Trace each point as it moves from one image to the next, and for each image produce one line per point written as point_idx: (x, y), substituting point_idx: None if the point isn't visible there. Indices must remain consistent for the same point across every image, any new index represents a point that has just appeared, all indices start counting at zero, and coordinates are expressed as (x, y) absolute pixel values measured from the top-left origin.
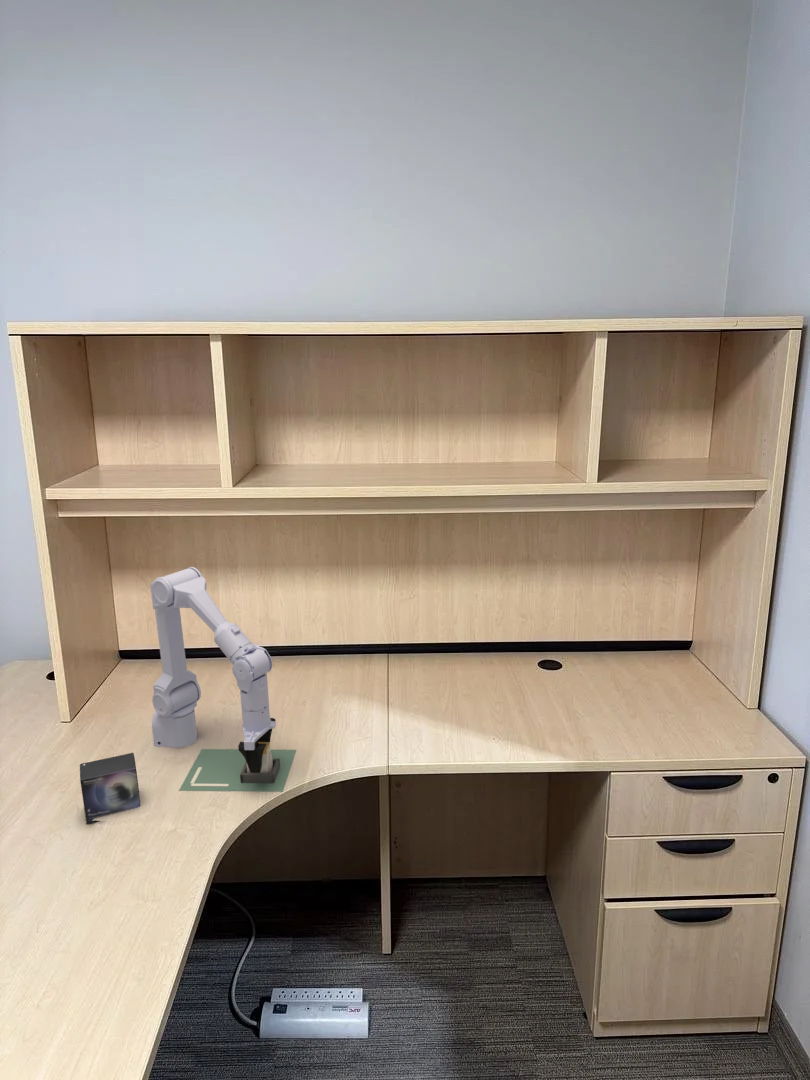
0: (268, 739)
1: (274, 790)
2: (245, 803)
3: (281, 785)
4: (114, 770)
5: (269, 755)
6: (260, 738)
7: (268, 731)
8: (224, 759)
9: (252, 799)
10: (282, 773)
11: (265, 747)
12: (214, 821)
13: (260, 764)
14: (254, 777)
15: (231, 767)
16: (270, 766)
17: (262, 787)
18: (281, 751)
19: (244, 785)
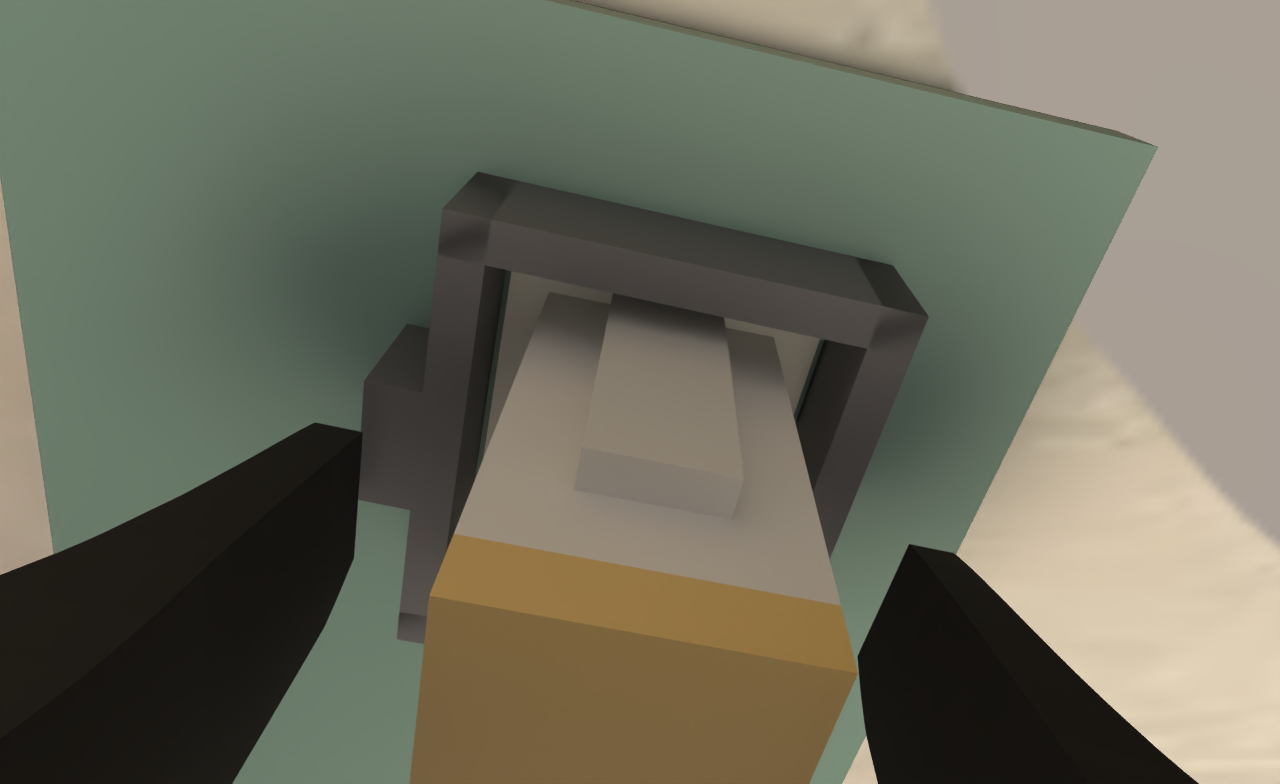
0: (220, 579)
1: (1073, 264)
2: (1052, 544)
3: (986, 161)
4: None
5: (714, 492)
6: (212, 738)
7: (67, 761)
8: (278, 749)
9: (1009, 482)
10: (670, 137)
11: (678, 688)
12: (1208, 764)
13: (1067, 670)
14: None
15: None
16: (724, 374)
17: (935, 411)
18: (50, 136)
19: None
